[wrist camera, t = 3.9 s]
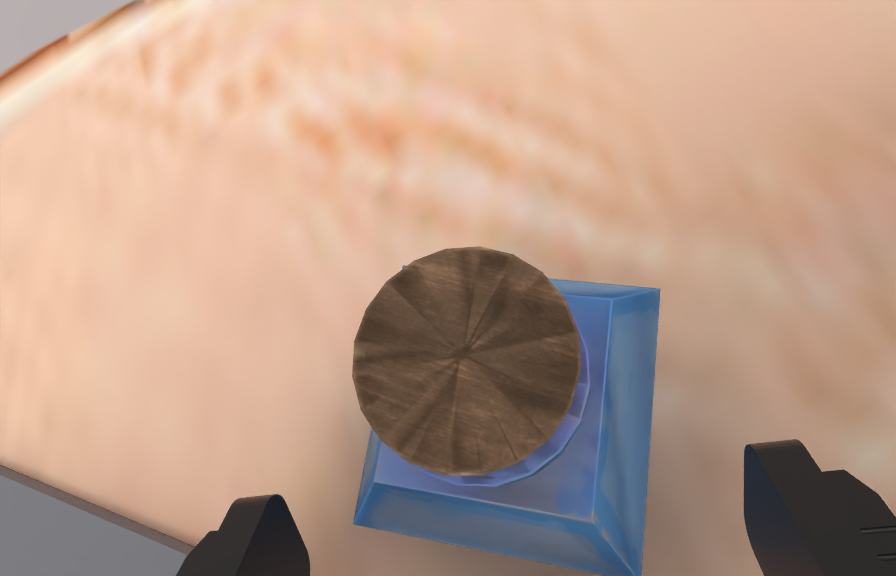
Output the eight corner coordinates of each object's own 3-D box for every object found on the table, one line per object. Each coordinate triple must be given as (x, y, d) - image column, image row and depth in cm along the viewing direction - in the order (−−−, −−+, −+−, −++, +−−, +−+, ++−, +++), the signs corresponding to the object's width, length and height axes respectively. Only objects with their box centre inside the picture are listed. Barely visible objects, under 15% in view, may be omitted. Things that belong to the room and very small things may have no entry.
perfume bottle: (635, 346, 19) (715, 161, 8) (619, 549, 18) (694, 665, 7) (450, 325, 21) (306, 145, 10) (420, 511, 19) (202, 552, 8)
